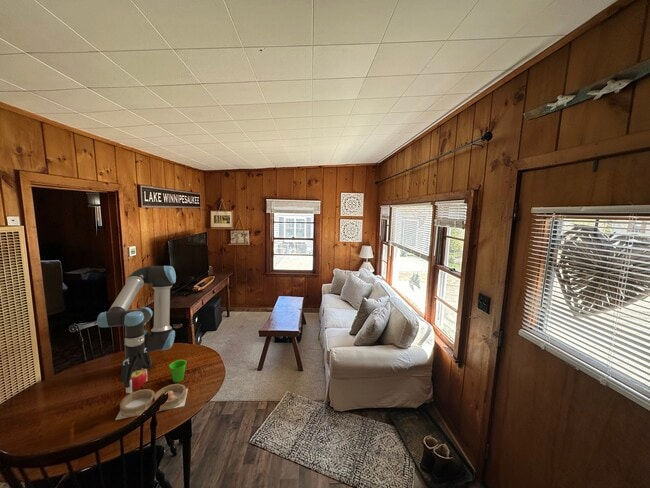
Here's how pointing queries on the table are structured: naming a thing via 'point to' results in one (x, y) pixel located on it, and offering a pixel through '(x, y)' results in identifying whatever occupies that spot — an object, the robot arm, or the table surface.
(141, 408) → the ring
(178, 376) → the cup
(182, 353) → the table surface
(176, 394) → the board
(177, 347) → the table surface
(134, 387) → the apple
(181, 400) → the ring
